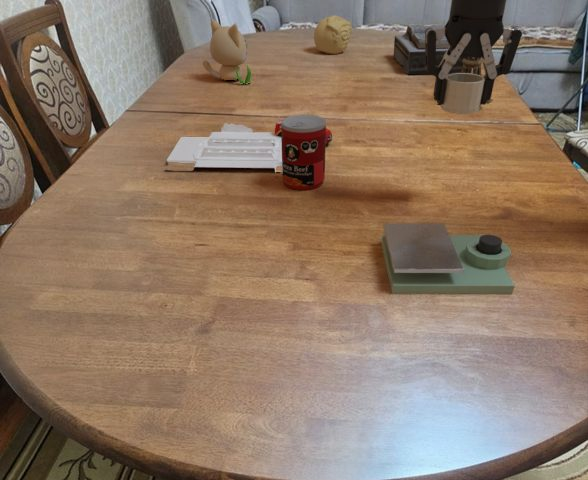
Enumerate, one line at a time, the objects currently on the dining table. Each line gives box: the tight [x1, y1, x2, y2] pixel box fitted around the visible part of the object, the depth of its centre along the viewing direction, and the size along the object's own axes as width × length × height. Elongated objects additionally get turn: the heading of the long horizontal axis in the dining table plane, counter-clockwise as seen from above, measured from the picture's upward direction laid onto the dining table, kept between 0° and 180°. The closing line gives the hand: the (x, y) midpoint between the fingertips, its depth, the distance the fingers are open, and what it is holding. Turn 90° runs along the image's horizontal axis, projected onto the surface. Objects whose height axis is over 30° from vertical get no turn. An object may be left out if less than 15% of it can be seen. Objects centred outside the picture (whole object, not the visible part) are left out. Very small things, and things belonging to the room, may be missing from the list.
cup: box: [440, 73, 485, 115], centre depth 86 cm, size 6×6×4 cm
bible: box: [393, 24, 474, 76], centre depth 167 cm, size 23×27×10 cm
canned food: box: [281, 114, 327, 191], centre depth 98 cm, size 8×8×11 cm
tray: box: [166, 122, 282, 173], centre depth 113 cm, size 20×28×4 cm
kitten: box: [202, 18, 252, 84], centre depth 153 cm, size 15×10×15 cm
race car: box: [274, 119, 333, 144], centre depth 117 cm, size 13×5×4 cm, turn 58°
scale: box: [380, 234, 515, 295], centre depth 77 cm, size 17×14×3 cm
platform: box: [382, 222, 464, 273], centre depth 76 cm, size 9×13×1 cm
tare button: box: [477, 234, 503, 255], centre depth 76 cm, size 3×3×2 cm
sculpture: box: [313, 14, 352, 55], centre depth 182 cm, size 11×12×11 cm
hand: (460, 102), depth 87 cm, fingers closed on cup, 6 cm apart
